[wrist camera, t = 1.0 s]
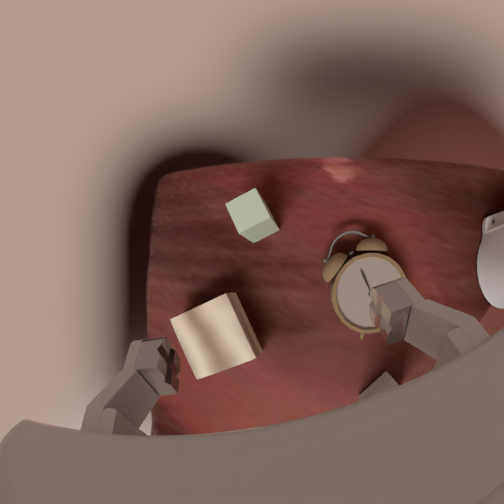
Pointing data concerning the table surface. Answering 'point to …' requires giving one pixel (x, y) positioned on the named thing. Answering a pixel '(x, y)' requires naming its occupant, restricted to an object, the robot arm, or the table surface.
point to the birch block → (216, 335)
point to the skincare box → (379, 386)
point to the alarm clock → (358, 281)
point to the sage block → (252, 216)
